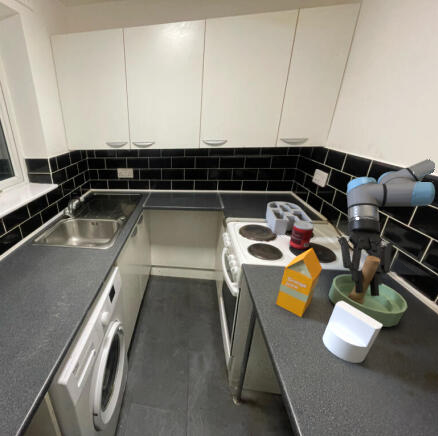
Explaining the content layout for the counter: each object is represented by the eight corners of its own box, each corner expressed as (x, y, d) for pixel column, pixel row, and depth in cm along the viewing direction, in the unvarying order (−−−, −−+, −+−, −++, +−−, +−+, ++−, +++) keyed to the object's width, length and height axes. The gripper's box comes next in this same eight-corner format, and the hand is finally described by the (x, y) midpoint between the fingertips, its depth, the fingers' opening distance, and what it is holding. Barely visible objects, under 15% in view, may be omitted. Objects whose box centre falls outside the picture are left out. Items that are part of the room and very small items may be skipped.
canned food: (308, 243, 110) (313, 223, 106) (308, 251, 104) (314, 230, 99) (289, 239, 114) (294, 219, 109) (288, 247, 108) (293, 226, 103)
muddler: (360, 297, 75) (379, 256, 69) (366, 305, 72) (385, 263, 65) (345, 294, 77) (362, 253, 70) (350, 302, 73) (367, 260, 67)
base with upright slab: (315, 339, 64) (327, 307, 59) (335, 327, 67) (348, 296, 63) (352, 368, 57) (369, 335, 52) (372, 354, 60) (391, 320, 55)
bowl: (382, 294, 79) (389, 280, 76) (411, 336, 64) (421, 320, 62) (322, 283, 85) (326, 270, 82) (337, 318, 70) (343, 304, 68)
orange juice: (310, 302, 76) (328, 252, 68) (301, 317, 71) (318, 264, 63) (285, 291, 82) (298, 242, 74) (275, 303, 77) (287, 253, 68)
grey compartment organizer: (272, 234, 119) (275, 219, 116) (262, 213, 144) (265, 200, 140) (308, 237, 115) (313, 222, 112) (292, 215, 140) (295, 202, 136)
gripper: (387, 228, 76) (393, 301, 69) (329, 222, 82) (329, 289, 75) (403, 220, 70) (411, 300, 62) (338, 214, 75) (339, 286, 68)
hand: (367, 294), depth 69 cm, fingers closed on muddler, 3 cm apart
